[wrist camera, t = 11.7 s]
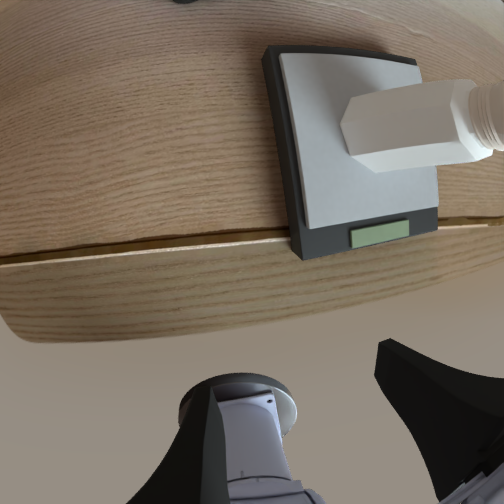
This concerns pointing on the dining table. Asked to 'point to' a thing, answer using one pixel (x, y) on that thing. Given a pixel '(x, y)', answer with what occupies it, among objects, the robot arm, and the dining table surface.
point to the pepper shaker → (425, 124)
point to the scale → (340, 152)
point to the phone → (184, 1)
